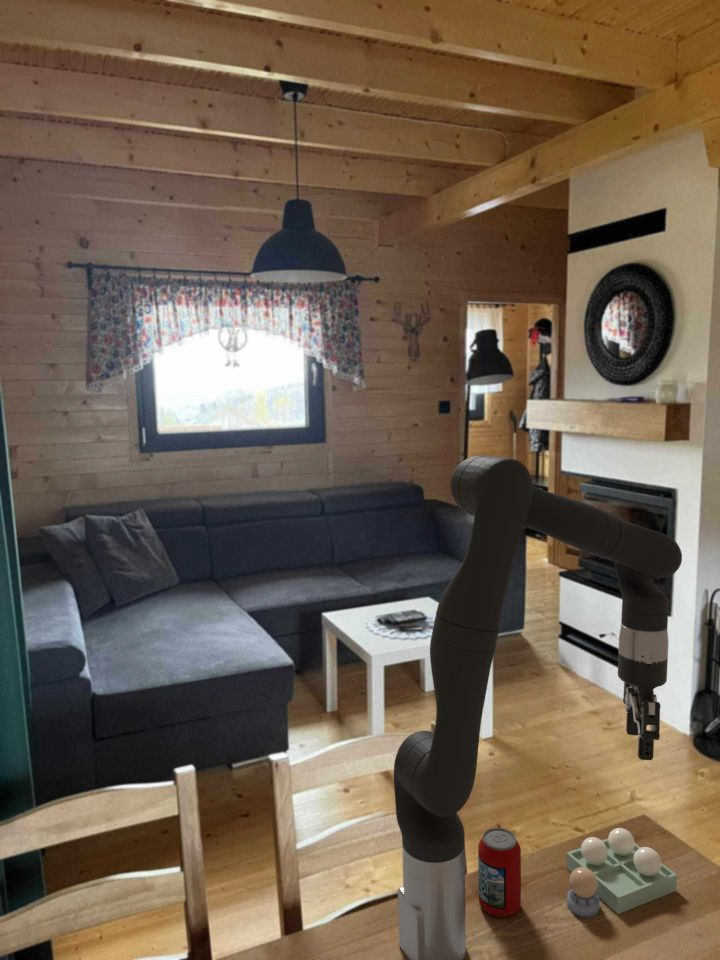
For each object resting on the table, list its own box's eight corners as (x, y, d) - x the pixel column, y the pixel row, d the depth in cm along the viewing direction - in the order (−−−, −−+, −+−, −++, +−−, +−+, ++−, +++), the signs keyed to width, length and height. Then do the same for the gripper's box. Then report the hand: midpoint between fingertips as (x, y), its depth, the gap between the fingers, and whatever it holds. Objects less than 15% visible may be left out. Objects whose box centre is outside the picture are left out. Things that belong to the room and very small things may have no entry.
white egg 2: (620, 864, 126) (620, 840, 126) (602, 849, 130) (602, 826, 130) (640, 857, 128) (640, 833, 127) (621, 842, 132) (622, 820, 131)
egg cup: (581, 921, 116) (581, 906, 115) (560, 901, 120) (560, 887, 120) (606, 911, 118) (606, 896, 117) (585, 892, 122) (585, 878, 122)
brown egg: (581, 908, 116) (582, 882, 115) (563, 890, 120) (563, 865, 119) (603, 899, 118) (604, 874, 117) (584, 882, 122) (585, 858, 121)
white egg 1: (592, 874, 124) (593, 850, 123) (575, 859, 128) (575, 835, 127) (613, 866, 125) (613, 843, 125) (595, 852, 129) (595, 829, 129)
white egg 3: (646, 885, 121) (647, 860, 120) (627, 869, 125) (627, 845, 124) (667, 877, 122) (667, 853, 122) (647, 862, 126) (647, 838, 126)
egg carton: (617, 914, 117) (618, 897, 117) (566, 868, 129) (566, 852, 128) (676, 890, 122) (676, 874, 122) (621, 848, 133) (622, 833, 133)
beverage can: (470, 899, 121) (469, 832, 120) (504, 887, 124) (504, 820, 123) (494, 926, 115) (494, 855, 114) (529, 912, 118) (529, 843, 117)
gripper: (610, 636, 128) (607, 725, 129) (628, 667, 114) (624, 766, 115) (655, 638, 127) (651, 728, 128) (679, 669, 112) (675, 769, 114)
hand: (639, 746), depth 122 cm, fingers open, 8 cm apart
